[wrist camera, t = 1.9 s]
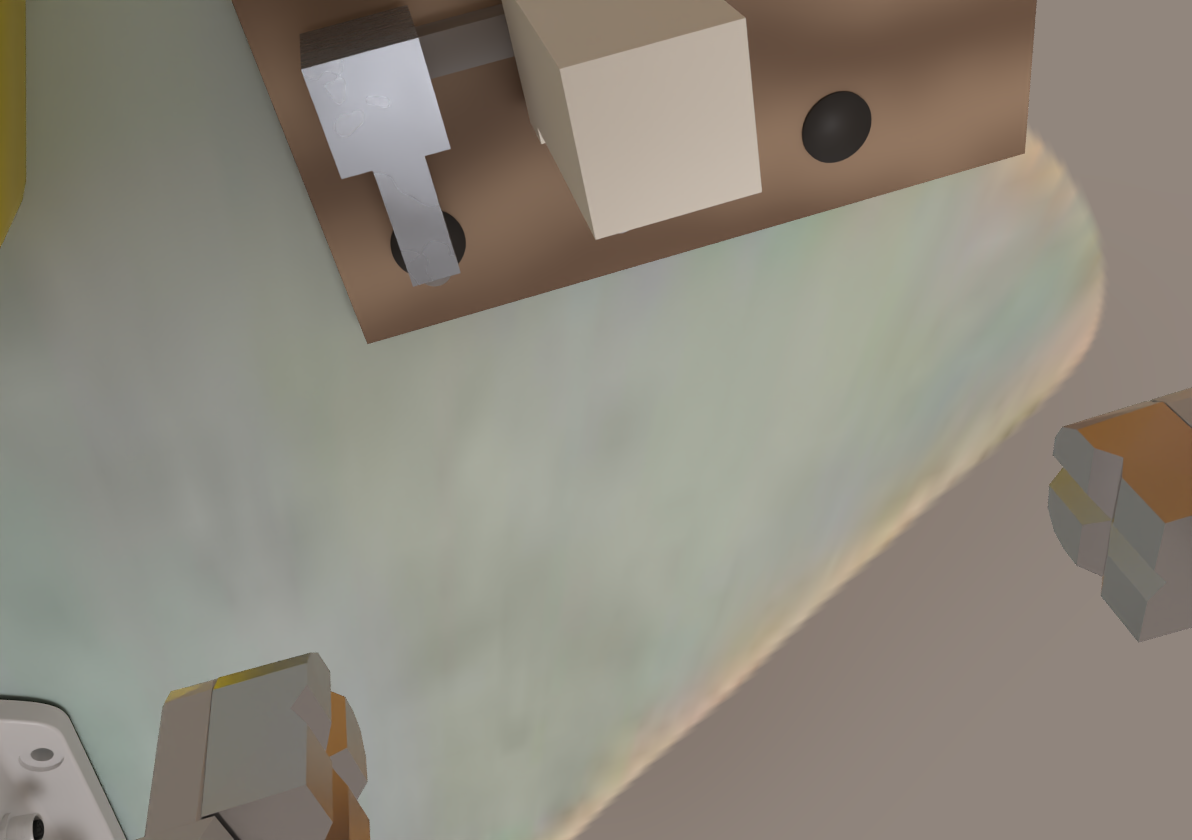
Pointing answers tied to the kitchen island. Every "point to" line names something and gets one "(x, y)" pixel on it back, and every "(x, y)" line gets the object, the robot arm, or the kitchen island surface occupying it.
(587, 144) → the block
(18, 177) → the element tile
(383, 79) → the fixed leg
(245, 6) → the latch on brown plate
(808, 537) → the kitchen island surface
